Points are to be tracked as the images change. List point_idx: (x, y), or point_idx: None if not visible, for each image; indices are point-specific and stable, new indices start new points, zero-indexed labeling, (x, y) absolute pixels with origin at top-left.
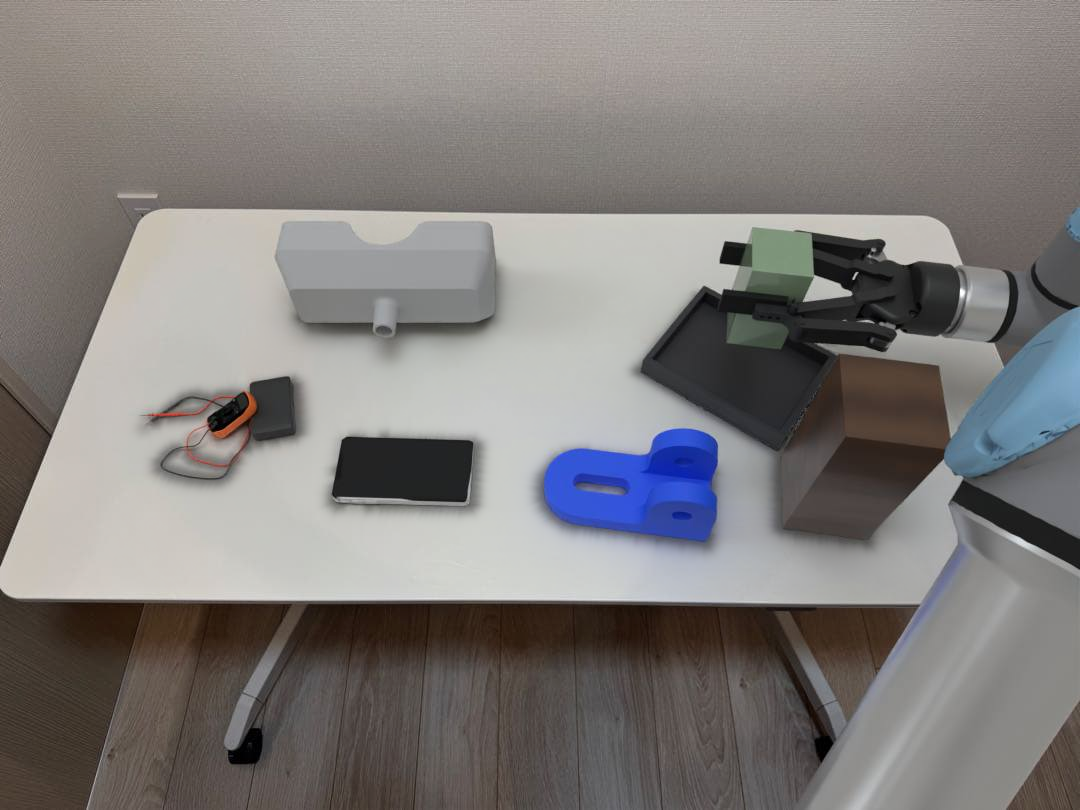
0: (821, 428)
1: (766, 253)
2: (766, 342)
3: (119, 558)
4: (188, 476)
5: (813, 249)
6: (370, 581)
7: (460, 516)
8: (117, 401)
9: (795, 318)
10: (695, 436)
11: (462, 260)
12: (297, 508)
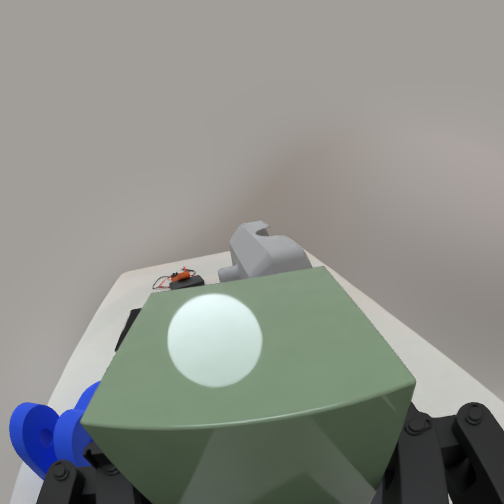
0: None
1: (217, 300)
2: None
3: (125, 283)
4: (155, 282)
5: (441, 486)
6: (88, 333)
7: (111, 355)
8: (192, 263)
9: (93, 475)
10: (67, 426)
11: (259, 255)
12: (133, 307)
